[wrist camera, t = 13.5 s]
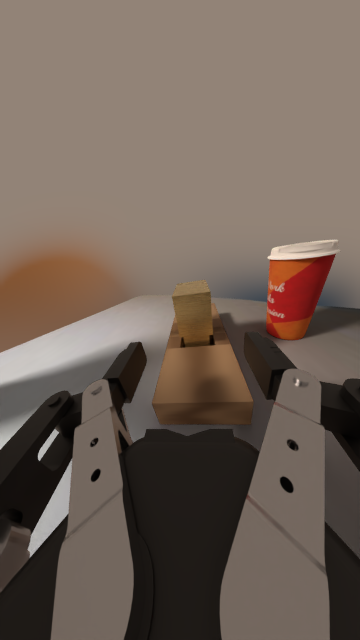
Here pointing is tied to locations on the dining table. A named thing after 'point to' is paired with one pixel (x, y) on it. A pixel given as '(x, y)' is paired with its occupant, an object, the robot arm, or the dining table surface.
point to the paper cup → (296, 285)
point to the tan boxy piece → (193, 313)
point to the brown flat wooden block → (202, 382)
